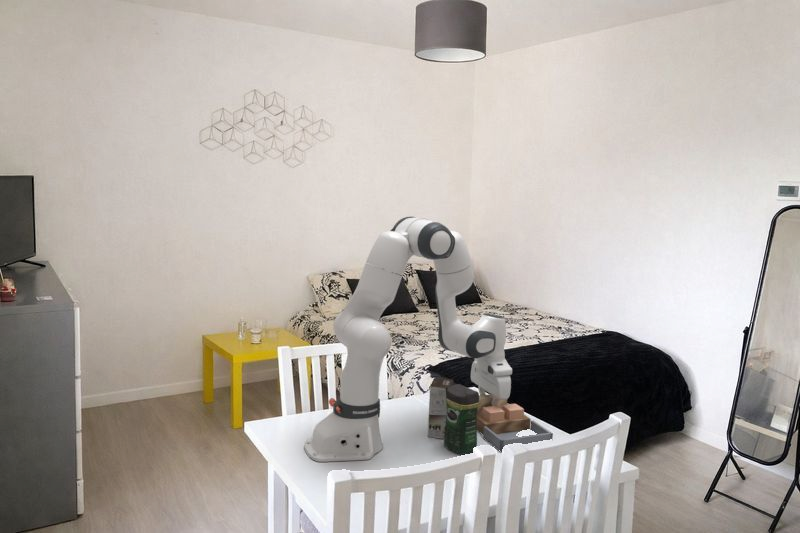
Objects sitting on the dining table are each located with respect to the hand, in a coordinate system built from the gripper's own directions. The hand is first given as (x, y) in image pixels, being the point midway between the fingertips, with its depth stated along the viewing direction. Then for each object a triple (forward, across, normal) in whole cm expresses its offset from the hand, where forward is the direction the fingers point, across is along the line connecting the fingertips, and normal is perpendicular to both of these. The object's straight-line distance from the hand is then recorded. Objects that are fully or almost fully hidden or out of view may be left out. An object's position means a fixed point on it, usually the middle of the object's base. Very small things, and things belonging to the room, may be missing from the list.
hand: (488, 403), depth 207 cm
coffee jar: (+5, +18, -19) cm, 27 cm away
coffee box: (+5, +6, -20) cm, 22 cm away
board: (+5, +6, 0) cm, 8 cm away
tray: (+5, +18, 0) cm, 19 cm away
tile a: (+1, +10, -4) cm, 10 cm away
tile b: (+1, +10, +4) cm, 10 cm away
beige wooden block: (+1, 0, 0) cm, 1 cm away
